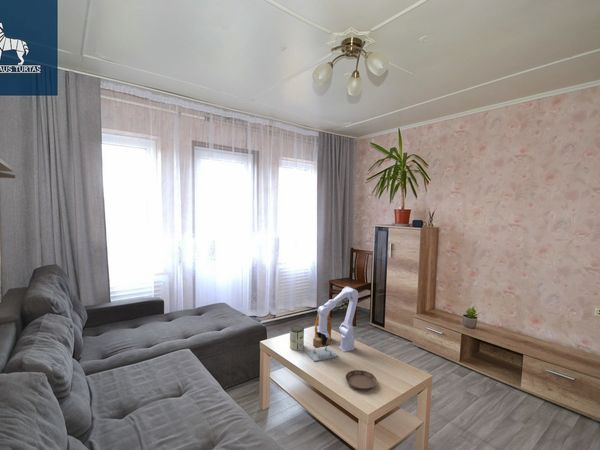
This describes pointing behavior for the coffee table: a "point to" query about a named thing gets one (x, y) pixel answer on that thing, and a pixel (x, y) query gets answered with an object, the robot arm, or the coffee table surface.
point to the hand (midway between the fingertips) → (322, 343)
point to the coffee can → (296, 337)
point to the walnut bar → (318, 342)
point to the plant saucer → (361, 380)
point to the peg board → (322, 354)
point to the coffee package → (327, 325)
